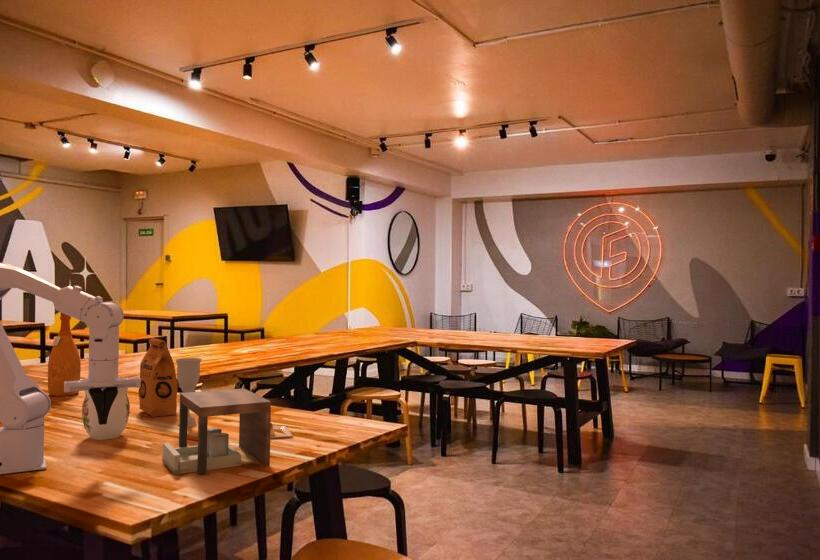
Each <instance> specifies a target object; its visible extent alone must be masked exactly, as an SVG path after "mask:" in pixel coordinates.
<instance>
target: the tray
mask: <svg viewBox="0 0 820 560" xmlns="http://www.w3.org/2000/svg"><path fill="white" fill-rule="evenodd" d="M222 430H223V429H222V428H221V427H207V471H208V470H217V469H223V468H231V467H238V466H239V467H240V466H241V465H242V454H241V453H240V452H239V451H238V450H236V449H235V448H234V447H232V446H231V445H230V444H229V439H230V437H229V433H225V432H222ZM161 456H162V459H161V460H162V462H163V463H164V464H165V465H166V467H167V468H168V469H169V471H170V472H171V473H172V474H173V475H178V474H186V473H194V472H197V464H198V444H197V445H190V446H189V445H187V447H180V448H179V447H174V446H173V445H172V443H170V442H169V441H167V442H162V455H161Z"/></svg>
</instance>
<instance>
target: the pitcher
mask: <svg viewBox="0 0 820 560" xmlns="http://www.w3.org/2000/svg"><path fill="white" fill-rule="evenodd" d="M110 386H114V385H110ZM94 387H103V386H94ZM117 390H118V394H117V396H116V398H115V400H114V402H113V404H112V406H111V409H110V412H109V415H108V419H107V424H103V425H99V423H98V416H97V411H96V408H95V405H94V403H93V400H92V398H91V396H90V394H89V392H88V390H84V395H85V396H84V400H83V402H82V407H81V418H82V424H83V426H84V430H85V432H86V433H87V435H88V436H89V437H90V439H92V440H95V441H104V440H105V441H107V440H114V439H117V438H119V437H120V436H121V435H122V434H123V432H124V431H125V429H126V427H127V425H128V421H129V417H130V413H131V412H130V411H131V410H130V409H131V408H130V406H131V405H130V397H129V395H128V390H129V388H117ZM102 391H103V389H102Z"/></svg>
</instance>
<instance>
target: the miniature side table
mask: <svg viewBox="0 0 820 560" xmlns="http://www.w3.org/2000/svg"><path fill="white" fill-rule="evenodd" d="M188 408H189V409H190V411H191V412H193V413H194V414H196V415H197V416H198V417H197V419H198V421H197V422H198V423H197V427H198V428H197V445H198V464H197V471H196V472H197V476H199V477H200V476H201V477H202V476H207V473H208V472H207V471H208V470H207V428H208V426H209V425H208V424H209V423H208V418H209V417H218V416H229V415H239V420H238V421H239V425H238V427H239V428H238V430H239V432H238V447H239V448H240V449H241V450H242V451H244V452H246V453H247V454H248V455H250V457H252V458H253V459H255V460H256V461H257V462H258V463H260V464H261V465H262V466H263V467H265V468H266V467H270V466H271V465H270V464H271V439H270V437H271V436H270V427H271V423H272V419H271V418H272V417H271V416H272V401H271V400H269V399H266V398H265V397H263V396H260V395H258V394H256V393H255V392H253V391H250V390H248V389H246V388H245V387H243V388H232V389H229V388H228V389H216V390H204V391H203V390H202V391H194V392H187V393H183V392H180V393H179V413H178V415H179V417H178V418H179V420H178V421H179V422H178V424H179V426H178V448H180V447H188V427H187V424H188Z"/></svg>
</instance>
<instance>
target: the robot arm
mask: <svg viewBox="0 0 820 560" xmlns="http://www.w3.org/2000/svg"><path fill="white" fill-rule="evenodd" d="M12 289H19V290H21V291H23V292H26V293H29V294H32V295H34V296H36V297H39V298H41V299H44V300H46V301H50V302H52V304H53V307H54V309H55V310H56V311H57V312H60V313H61V312H62V313H64V314H66V315H69V316H71V318H74V319H75V320H78V321H81V322H83V323H84V324H85V326H86V327H87V328H88V330H89V333H88V335H89V337H88V379H80V380H78V381H68V382H64V392H71V391H79V392H82V391H83V392H85V390H88V392H89V394H90V396H91V398H92V400H93V403H94V405H95V408H96V411H97V416H98V423H99V425H103V424H107V419H108V415H109V412H110V409H111V406H112V404H113V402H114V400H115V398H116V396H117V394H118V390H117V388H128V389H129V388H139V387H141V378H140V376H139V377H119V359H120V358H119V353H120V350H119V349H120V325H122V323H123V322H124V321H123V320H124V317H125V315H124V313H125V312H124V310H123V308H122V307H121V306H120V305H119V304H117V303H116V302H115V301H113V300H111V301H104V300H103V297H101V296H100V295H97V296H94V295H92V294H90V293H87V292H84V291H83V288H82V286H79V285H74V286H73V285H72V286H71V285H68V286H65V287H59V286H57V285H55V284H53V283H52V282H49V281H47V280H45V279H43V278H42V277H39V276H36V275H35V274H33V273H31V272H29V271H27V270H24V269H23V268H21V267H20V266H19V267H18V266H15V265H11V264H9V263H7V262H0V301H1V300H2V299H3V298H4V297H5V296H6V295H7V294H8V293H9V292H10V291H11V290H12ZM110 385H114V386H110ZM94 386H103V387H94ZM102 389H103V391H102ZM51 407H52V401H51V398H50V395H48V394H47V393H46V392H45V391H44V390H42V389H41V387H40V386H39V384H38V382H37V381H35V380H34V379H32V378H31V377H29V376H28V375H27V374H26V371H25V369H24V367H23V366H22V363H21V361H20V359H19V357H18V355H17V353H16V350H15V349H14V346H13V345H12V343H11V341H10V338H9V336H8V334H7V332H6V329H4V326H3V324H2V322H1V321H0V423H1V424H2V425H3V426H1V427H0V475H6V474H14V473H22V472H31V471H40V470H41V471H42V470H46V469H47V462H46V461H47V460H46V458H45V457H44V455H45V416H46V415H48V414H49V412H50V411H51Z"/></svg>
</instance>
